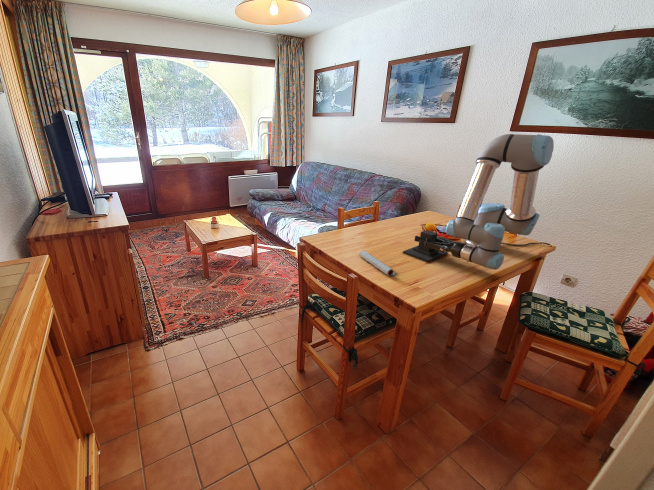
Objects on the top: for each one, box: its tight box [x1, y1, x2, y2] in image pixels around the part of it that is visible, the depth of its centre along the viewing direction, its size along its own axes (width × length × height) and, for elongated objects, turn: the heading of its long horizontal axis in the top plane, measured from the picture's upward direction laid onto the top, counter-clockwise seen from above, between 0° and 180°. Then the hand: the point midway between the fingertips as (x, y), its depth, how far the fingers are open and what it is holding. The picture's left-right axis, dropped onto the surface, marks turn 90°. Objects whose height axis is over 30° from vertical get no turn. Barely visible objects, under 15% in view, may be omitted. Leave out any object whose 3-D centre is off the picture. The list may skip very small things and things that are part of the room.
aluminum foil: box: [359, 250, 398, 277], centre depth 147 cm, size 23×7×3 cm, turn 19°
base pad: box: [402, 245, 449, 263], centre depth 160 cm, size 18×14×3 cm
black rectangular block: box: [417, 229, 438, 253], centre depth 158 cm, size 5×6×10 cm
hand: (418, 237), depth 162 cm, fingers closed on black rectangular block, 5 cm apart
